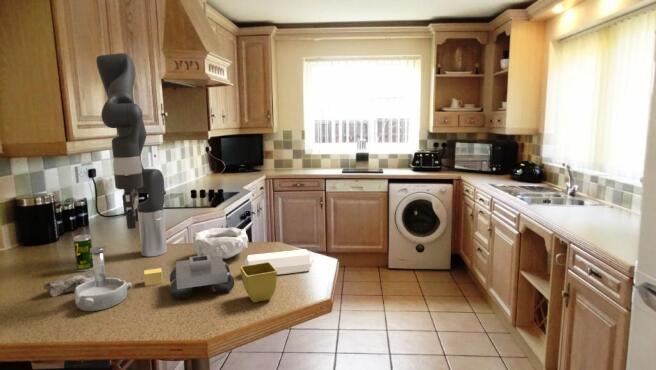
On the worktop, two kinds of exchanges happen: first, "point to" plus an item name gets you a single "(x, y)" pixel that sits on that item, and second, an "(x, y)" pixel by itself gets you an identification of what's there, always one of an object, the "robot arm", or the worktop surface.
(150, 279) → the pale yellow block
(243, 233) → the bowl
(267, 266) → the flower pot
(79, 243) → the beer can
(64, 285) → the mineral rock
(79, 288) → the dish
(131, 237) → the worktop surface
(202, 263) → the dolly
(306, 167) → the worktop surface
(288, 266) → the white faceted prism
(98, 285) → the pin
